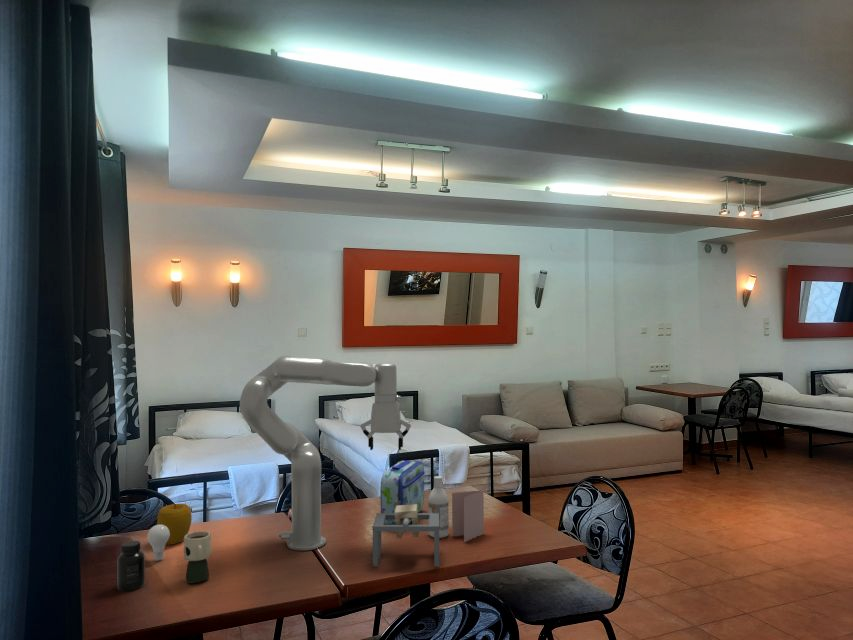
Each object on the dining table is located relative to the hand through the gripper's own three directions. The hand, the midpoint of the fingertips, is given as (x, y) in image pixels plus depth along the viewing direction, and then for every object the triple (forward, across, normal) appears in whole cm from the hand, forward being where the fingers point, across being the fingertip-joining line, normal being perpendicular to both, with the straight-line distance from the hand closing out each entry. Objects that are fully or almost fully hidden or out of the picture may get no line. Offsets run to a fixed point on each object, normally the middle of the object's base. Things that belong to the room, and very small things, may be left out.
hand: (385, 449), depth 206 cm
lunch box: (+31, -5, -21) cm, 37 cm away
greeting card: (+30, -29, 0) cm, 42 cm away
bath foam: (+30, -18, -3) cm, 35 cm away
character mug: (+31, +51, +35) cm, 69 cm away
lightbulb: (+31, +69, +20) cm, 78 cm away
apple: (+31, +71, +4) cm, 77 cm away
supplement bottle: (+31, +68, +39) cm, 84 cm away
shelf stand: (+30, -8, +18) cm, 36 cm away
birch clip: (+23, -8, +18) cm, 30 cm away
